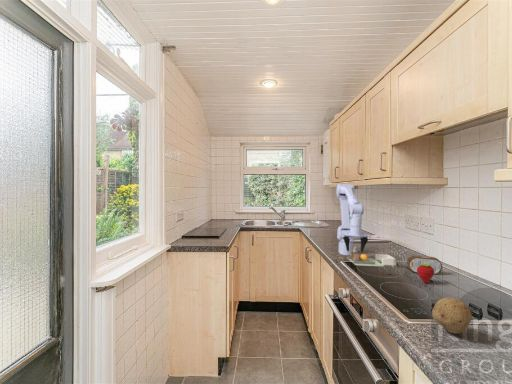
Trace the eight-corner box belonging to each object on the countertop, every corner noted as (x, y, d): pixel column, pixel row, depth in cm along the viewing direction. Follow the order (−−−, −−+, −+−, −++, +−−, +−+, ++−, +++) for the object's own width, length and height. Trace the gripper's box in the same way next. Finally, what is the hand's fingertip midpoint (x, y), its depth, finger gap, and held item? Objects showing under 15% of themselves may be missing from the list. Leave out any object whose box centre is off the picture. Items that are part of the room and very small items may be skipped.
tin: (440, 274, 135) (441, 257, 135) (442, 276, 132) (443, 258, 132) (406, 270, 139) (407, 254, 139) (408, 272, 136) (408, 255, 136)
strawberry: (412, 281, 123) (413, 259, 123) (425, 280, 125) (426, 258, 125) (424, 286, 117) (425, 262, 117) (437, 284, 119) (438, 261, 119)
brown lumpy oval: (438, 338, 75) (440, 302, 75) (426, 322, 84) (428, 290, 84) (477, 343, 73) (478, 306, 73) (460, 327, 82) (461, 294, 82)
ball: (358, 260, 152) (359, 253, 152) (366, 260, 152) (366, 253, 151) (361, 262, 148) (361, 254, 148) (368, 262, 148) (369, 255, 147)
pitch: (346, 259, 158) (346, 251, 158) (385, 260, 157) (385, 253, 157) (355, 267, 142) (355, 258, 142) (398, 269, 141) (399, 260, 141)
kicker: (350, 258, 154) (350, 244, 154) (354, 258, 154) (354, 244, 154) (354, 262, 146) (355, 247, 146) (359, 262, 146) (359, 247, 146)
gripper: (344, 226, 146) (343, 252, 146) (372, 227, 145) (371, 253, 145) (340, 224, 153) (339, 249, 153) (367, 225, 152) (366, 250, 152)
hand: (354, 250), depth 150 cm, fingers open, 7 cm apart
